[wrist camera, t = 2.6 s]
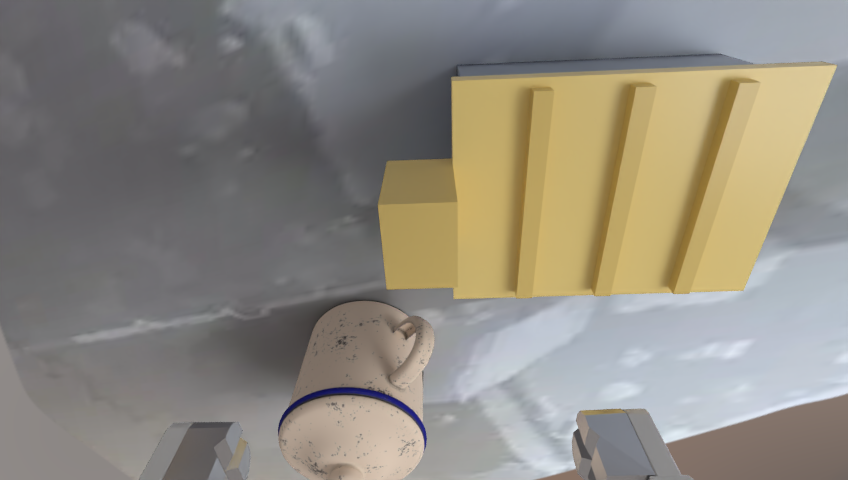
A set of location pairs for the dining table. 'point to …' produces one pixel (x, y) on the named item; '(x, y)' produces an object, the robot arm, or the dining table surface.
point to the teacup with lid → (359, 396)
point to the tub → (598, 65)
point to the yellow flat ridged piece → (601, 181)
